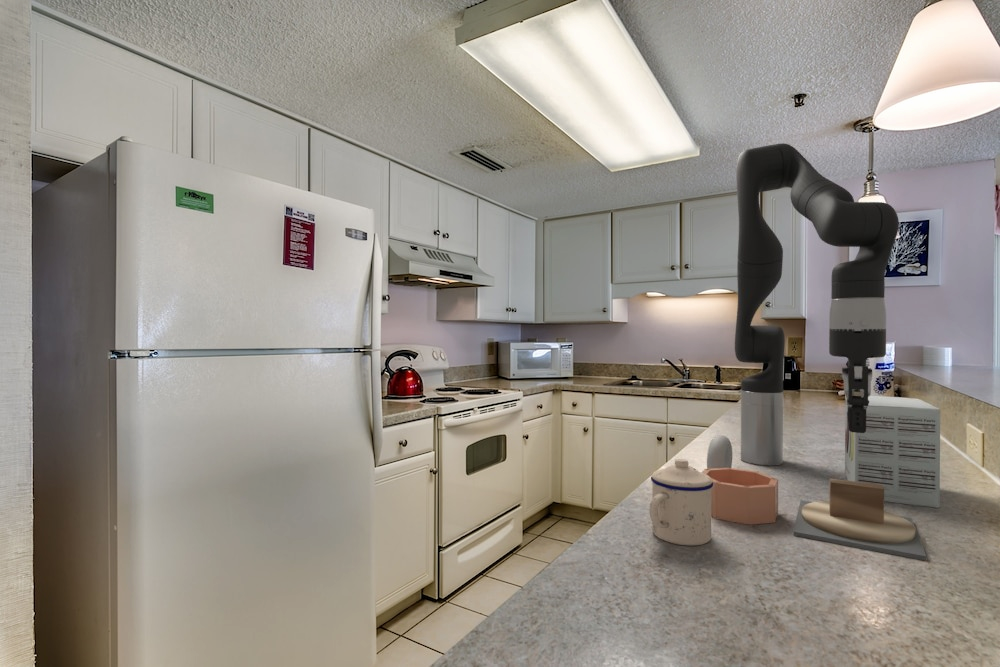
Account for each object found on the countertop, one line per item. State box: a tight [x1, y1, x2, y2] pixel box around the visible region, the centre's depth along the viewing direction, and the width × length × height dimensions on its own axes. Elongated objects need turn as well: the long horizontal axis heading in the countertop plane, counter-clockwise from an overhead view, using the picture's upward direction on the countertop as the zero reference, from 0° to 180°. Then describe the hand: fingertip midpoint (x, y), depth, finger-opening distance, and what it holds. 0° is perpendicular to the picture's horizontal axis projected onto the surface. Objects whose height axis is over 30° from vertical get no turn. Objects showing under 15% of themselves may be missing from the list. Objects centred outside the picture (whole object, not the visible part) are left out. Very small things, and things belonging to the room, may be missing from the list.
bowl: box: [700, 467, 779, 526], centre depth 91 cm, size 12×12×6 cm
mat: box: [792, 499, 927, 561], centre depth 83 cm, size 18×16×1 cm
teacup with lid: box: [649, 458, 713, 546], centre depth 79 cm, size 12×9×12 cm
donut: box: [706, 434, 733, 469], centre depth 108 cm, size 10×4×10 cm, turn 143°
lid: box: [802, 477, 917, 543], centre depth 83 cm, size 15×15×6 cm
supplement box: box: [844, 394, 941, 509], centre depth 103 cm, size 17×13×18 cm
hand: (856, 427), depth 83 cm, fingers open, 8 cm apart
